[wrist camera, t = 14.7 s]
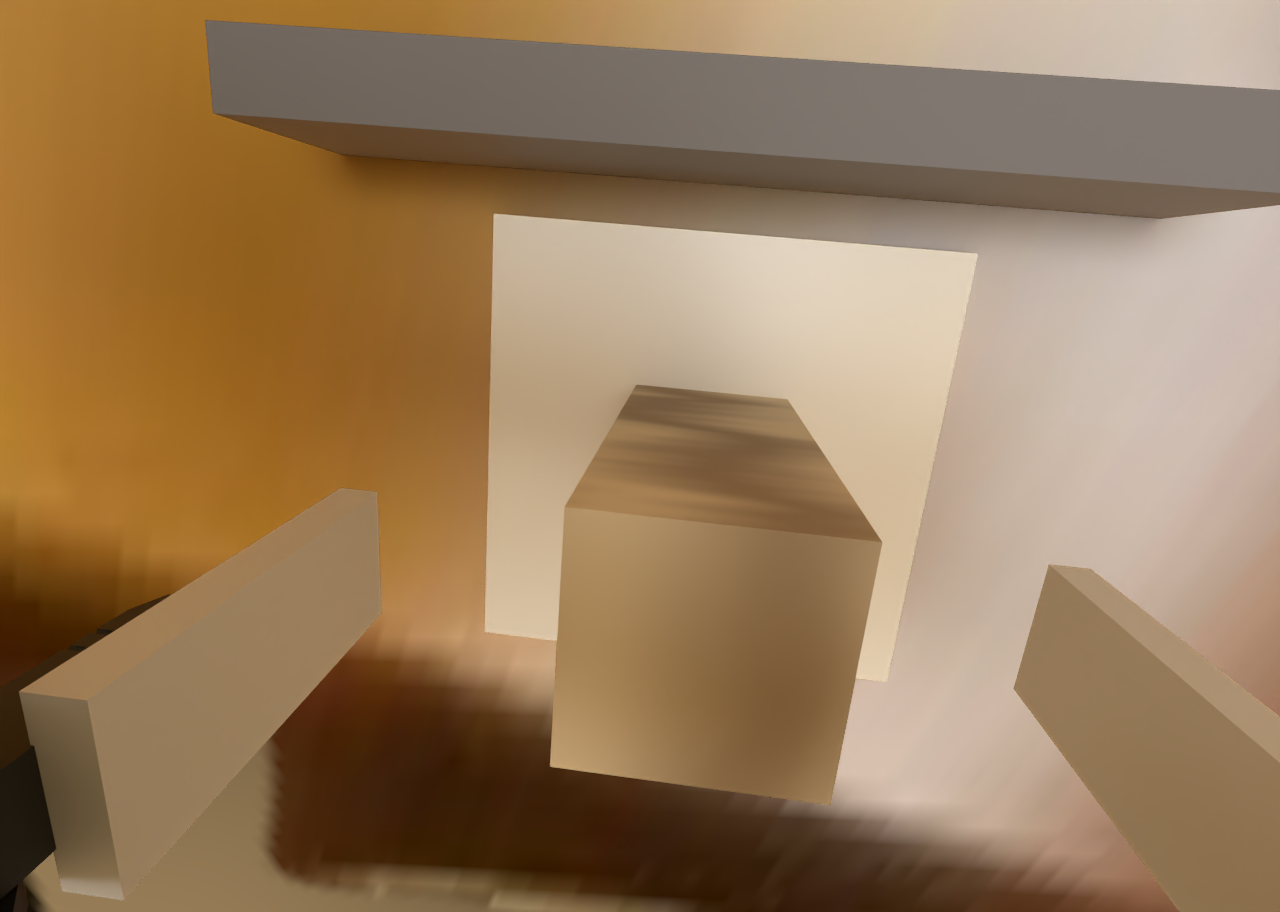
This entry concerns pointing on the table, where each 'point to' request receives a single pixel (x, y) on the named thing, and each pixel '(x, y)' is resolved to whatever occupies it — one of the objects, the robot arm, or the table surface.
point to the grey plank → (756, 120)
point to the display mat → (710, 376)
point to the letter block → (710, 600)
